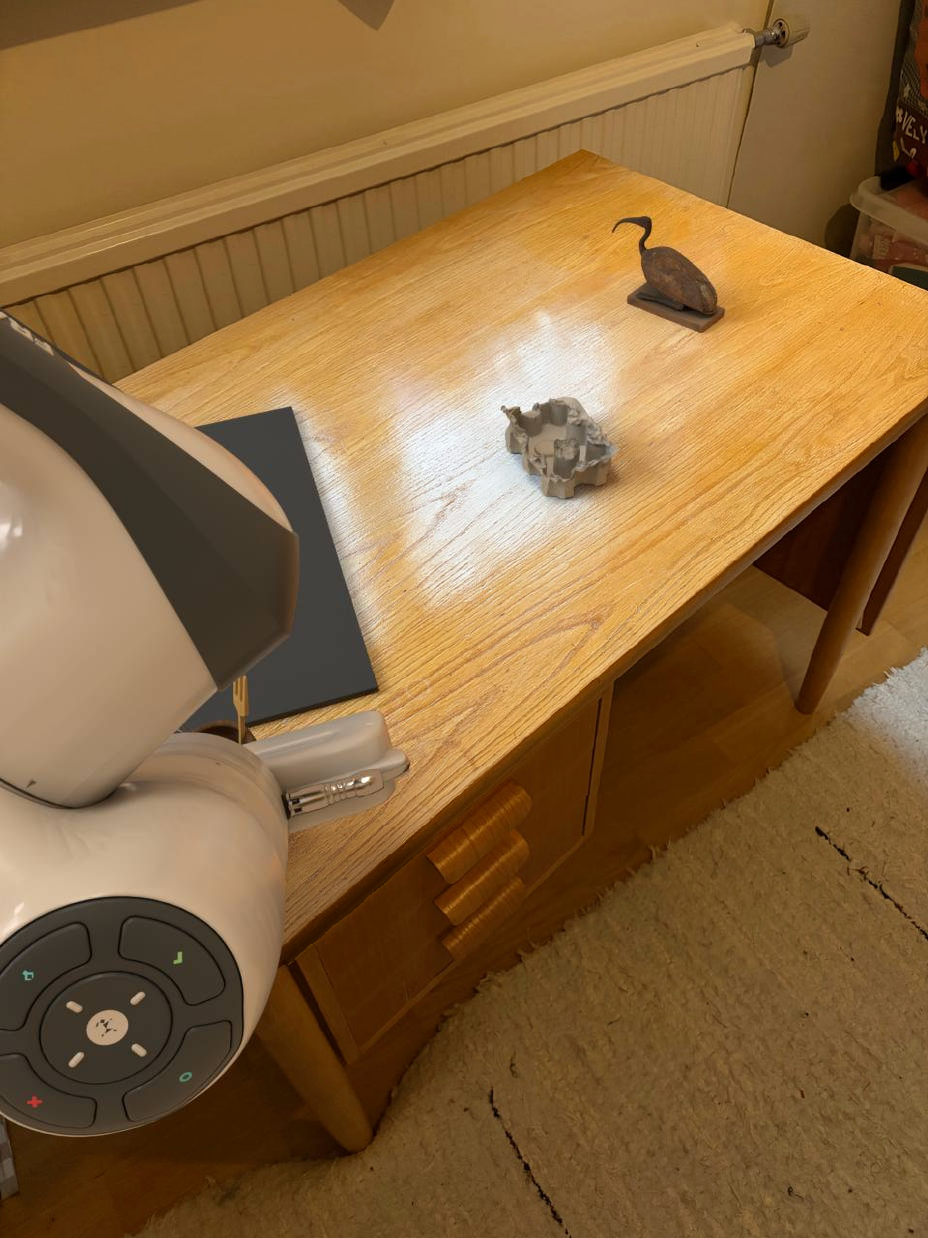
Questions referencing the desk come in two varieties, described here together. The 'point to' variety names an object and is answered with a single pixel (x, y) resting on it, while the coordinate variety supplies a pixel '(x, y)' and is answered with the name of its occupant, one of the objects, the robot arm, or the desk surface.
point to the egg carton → (560, 445)
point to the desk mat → (324, 614)
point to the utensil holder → (232, 728)
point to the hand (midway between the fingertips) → (215, 767)
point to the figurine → (673, 285)
